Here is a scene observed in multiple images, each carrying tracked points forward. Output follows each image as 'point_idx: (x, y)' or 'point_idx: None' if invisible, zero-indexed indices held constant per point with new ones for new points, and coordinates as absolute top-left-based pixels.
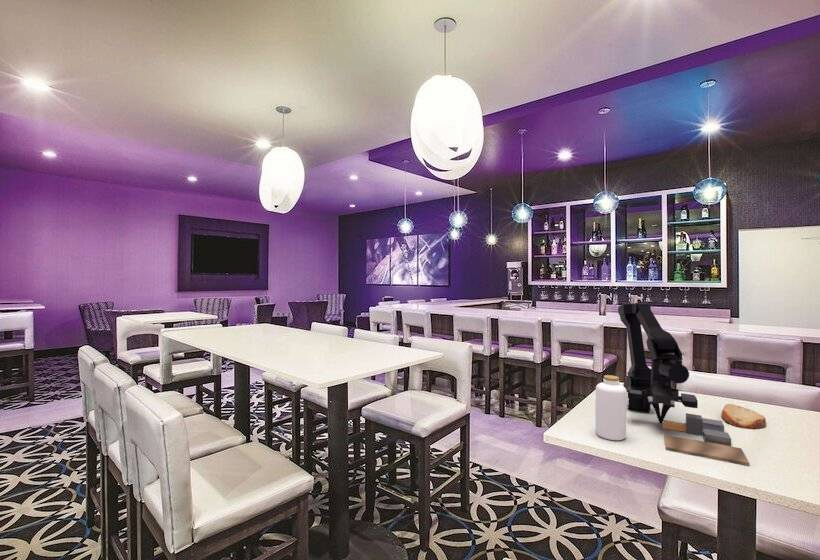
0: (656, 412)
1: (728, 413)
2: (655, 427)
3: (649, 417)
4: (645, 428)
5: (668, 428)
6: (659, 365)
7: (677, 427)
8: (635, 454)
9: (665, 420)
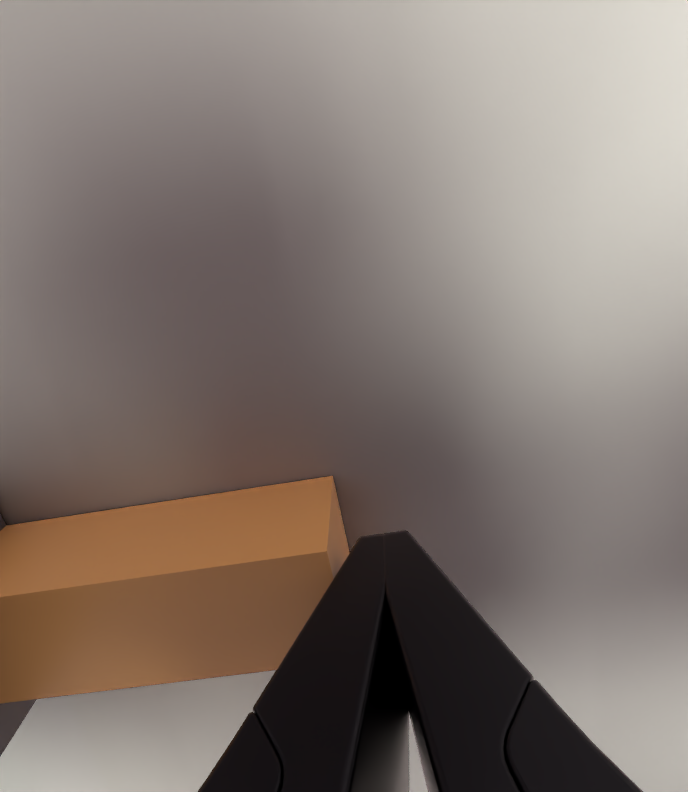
0: (535, 704)
1: None
2: (452, 413)
3: None
4: (626, 206)
5: (254, 492)
6: None
7: (100, 538)
8: None
9: None
